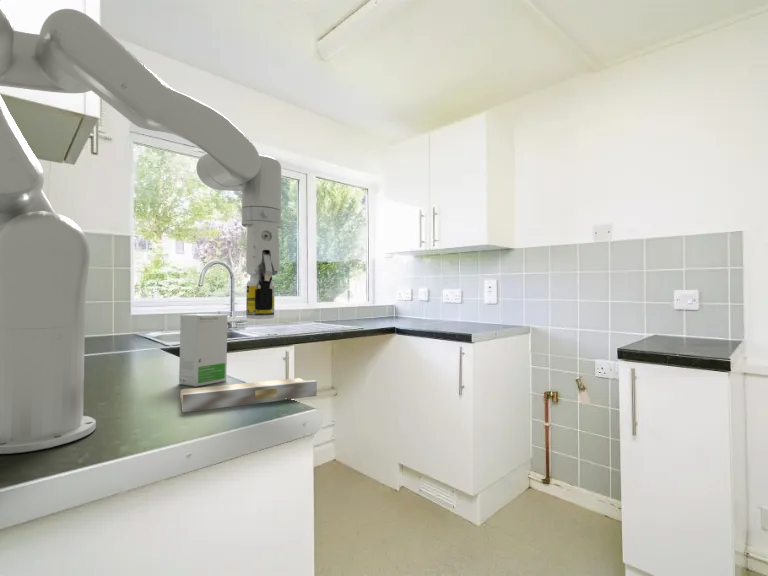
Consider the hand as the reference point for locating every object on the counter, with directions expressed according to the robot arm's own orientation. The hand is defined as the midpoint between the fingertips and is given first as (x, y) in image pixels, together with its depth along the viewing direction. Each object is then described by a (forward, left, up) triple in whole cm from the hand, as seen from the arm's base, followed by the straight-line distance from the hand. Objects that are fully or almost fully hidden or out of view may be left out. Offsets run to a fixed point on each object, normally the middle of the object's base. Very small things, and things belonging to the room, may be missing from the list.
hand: (260, 308), depth 80 cm
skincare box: (-9, +17, -18) cm, 26 cm away
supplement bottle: (0, 0, -2) cm, 2 cm away
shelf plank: (-2, 0, -17) cm, 18 cm away
